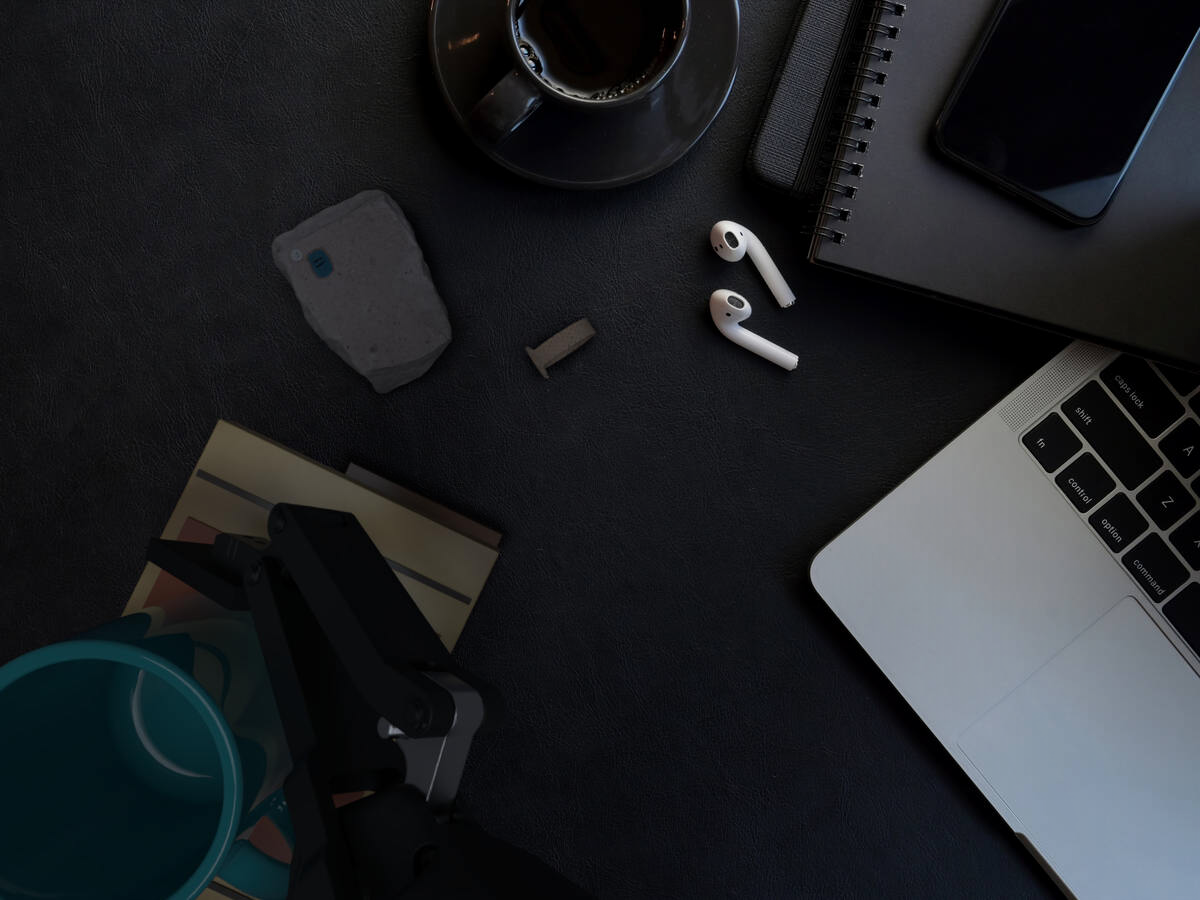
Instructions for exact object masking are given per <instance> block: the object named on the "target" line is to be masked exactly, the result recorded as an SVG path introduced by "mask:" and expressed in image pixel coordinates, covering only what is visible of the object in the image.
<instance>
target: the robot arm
mask: <svg viewBox="0 0 1200 900" xmlns="http://www.w3.org/2000/svg"><path fill="white" fill-rule="evenodd" d="M267 530H268V535H269V538H270V539H271V541H270V540H268V539H266V538H264V537H259V536H250V535H241V534H232V533H221V534H218V535H216V538H215V542H214V544H206V543H196V542H186V541H177V540H167V539H160V538H158V537H157V538H156V537H149V540H148V544H147V548H146V552H145V556H144V559H145V560H147V562H148V561H150V562H151V563H153V564H155V565H156V566H158V567H159V568H161V569H163V570H164V571H166V572H168V573H169V574H171V575H172V576H174V577H176V578H177V579H179V580H180V581H182V582H184V583H185V584H187V585H188V586H190V587H192V588H193V589H195V590H196V591H198V592H200V593H201V594H203V595H205V596H206V597H208V598H209V599H211V600H213V601H214V602H216V603H217V604H219V605H221V606H222V607H224V608H225V609H227V610H235V611H251V614H252V618H253V621H254V625H255V628H256V632H257V636H258V639H259V643H260V646H261V650H262V654H263V657H264V661H265V664H266V668H267V672H268V675H269V679H270V682H271V686H272V690H273V693H274V697H275V700H276V704H277V708H278V711H279V715H280V718H281V722H282V726H283V729H284V733H285V736H286V740H287V744H288V747H289V751H290V754H291V758H292V762H293V770H292V771H291V772H290V773H289V774H288V775H287V776H286V777H285V779H284V782H283V792H284V796H285V799H286V803H287V807H288V811H289V815H290V818H291V822H292V826H293V830H294V833H295V837H296V843H295V847H294V851H293V855H292V859H291V865H290V875H289V885H288V894H287V897H286V899H285V900H601V899H600V898H598V897H597V896H595V895H594V894H592V893H591V892H589V891H588V890H586V889H585V888H584V887H582V886H581V885H579V884H578V883H576V882H575V881H573V880H572V879H571V878H569V877H567V876H566V875H564V874H563V873H561V872H560V871H559V870H557V869H556V868H554V867H553V866H551V865H549V864H548V863H546V861H543V860H542V859H541V858H540V857H538V856H537V855H535V854H533V853H531V852H529V851H528V850H525V849H523V848H522V847H519V846H517V845H515V844H514V843H511V842H508V841H506V840H504V839H501V838H499V837H498V836H496V835H493V834H492V833H489V832H488V831H486V829H484V827H482V825H481V824H480V823H479V821H478V820H477V818H476V817H475V815H474V813H473V812H472V810H471V808H470V806H469V804H468V802H467V800H466V797H464V795H463V794H462V792H460V790H459V786H460V783H461V779H462V776H463V773H464V769H465V767H466V763H467V760H468V756H469V753H470V749H471V745H472V741H473V738H474V736H477V735H491V734H495V733H496V732H497V731H498V730H499V729H501V727H502V725H503V724H504V721H505V716H506V701H505V698H504V696H503V694H502V692H501V691H500V690H499V689H498V688H497V687H496V686H494V685H493V684H491V683H489V682H488V681H487V680H485V679H483V678H482V677H480V676H478V675H477V674H475V673H474V672H472V671H470V670H469V669H467V668H466V667H464V666H463V665H461V664H459V663H458V662H457V661H456V659H455V658H454V656H453V655H452V653H451V654H450V652H449V651H448V649H447V648H446V647H445V645H444V644H443V642H442V641H441V639H440V638H439V636H438V635H437V634H436V632H435V631H434V629H433V628H432V626H431V625H430V623H429V622H428V621H427V619H426V618H425V616H424V615H423V613H422V612H421V610H420V609H419V608H418V606H417V605H416V603H415V602H414V600H413V599H412V597H411V596H410V595H409V593H408V592H407V590H406V589H405V587H404V586H403V584H402V583H401V582H400V580H399V579H398V577H397V576H396V574H395V573H394V571H393V570H392V569H391V567H390V566H389V564H388V563H387V561H386V560H385V558H384V557H383V556H382V554H381V553H380V551H379V550H378V548H377V547H376V545H375V544H374V543H373V541H372V540H371V538H370V537H369V535H368V534H367V532H366V531H365V530H364V528H363V527H362V525H361V524H360V522H359V521H358V519H357V518H356V517H355V515H354V514H352V513H351V512H345V511H338V510H332V509H325V508H319V507H312V506H305V505H298V504H290V503H283V502H279V503H277V504H276V505H274V507H273V508H272V510H271V512H270V514H269V517H268V523H267ZM393 739H395V740H396V742H395V741H394V740H393ZM360 791H374V792H375V793H373V794H371V795H368V796H366V797H363V798H361V799H358V800H356V801H353V802H351V803H348V804H346V805H343V806H341V807H338V808H336V807H335V803H334V800H333V797H332V795H334V794H343V793H352V792H360Z"/></svg>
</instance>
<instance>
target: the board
mask: <svg viewBox="0 0 1200 900" xmlns="http://www.w3.org/2000/svg"><path fill="white" fill-rule="evenodd" d="M279 502H283V503H290V504H298V505H305V506H312V507H319V508H325V509H332V510H338V511H345V512H351V513H352V514H354V515H355V517H356V518H357V519H358V521H359V522H360V524H361V525H362V527H363V528H364V530H365V531H366V532H367V534H368V535H369V537H370V538H371V540H372V541H373V543H374V544H375V545H376V547H377V548H378V550H379V551H380V553H381V554H382V556H383V557H384V558H385V560H386V561H387V563H388V564H389V566H390V567H391V569H392V570H393V571H394V573H395V574H396V576H397V577H398V579H399V580H400V582H401V583H402V584H403V586H404V587H405V589H406V590H407V592H408V593H409V595H410V596H411V597H412V599H413V600H414V602H415V603H416V605H417V606H418V608H419V609H420V610H421V612H422V613H423V615H424V616H425V618H426V619H427V621H428V622H429V623H430V625H431V626H432V628H433V629H434V631H435V632H436V634H437V635H438V636H439V638H440V639H441V641H442V642H443V644H444V645H445V647H446V648H447V649H448V651H449V652H450V654H451V655H452V653H453V650H454V649H455V646H456V644H457V642H458V641H459V638H460V636H461V634H462V632H463V630H464V628H465V626H466V623H467V622H468V620H469V618H470V615H471V614H472V611H473V609H474V607H475V605H476V603H477V601H478V599H479V597H480V595H481V593H482V591H483V589H484V587H485V585H486V583H487V581H488V579H489V577H490V574H491V572H492V570H493V568H494V567H495V564H496V562H497V560H498V558H499V555H500V553H501V552H502V549H501V548H500V547H498V546H497V547H496V546H494V545H492V544H489V543H487V542H485V541H483V540H481V539H479V538H477V537H475V536H473V535H471V534H469V533H466V532H464V531H462V530H460V529H458V528H456V527H454V526H452V525H450V524H448V523H446V522H443V521H441V520H439V519H437V518H435V517H433V516H431V515H429V514H427V513H425V512H423V511H421V510H418V509H416V508H414V507H412V506H410V505H408V504H406V503H404V502H402V501H400V500H398V499H395V498H393V497H391V496H389V495H387V494H385V493H383V492H381V491H379V490H377V489H375V488H372V487H370V486H368V485H366V484H364V483H362V482H360V481H358V480H356V479H354V478H352V477H349V476H347V475H345V473H343V472H342V471H339V470H337V469H334V468H333V467H330V466H329V465H326V464H324V463H322V462H321V461H318V460H316V459H314V458H312V457H310V456H308V455H306V454H304V453H301V452H300V451H298V450H295V449H293V448H291V447H288V446H287V445H286V444H285V445H284V444H283V443H280V442H279V441H277V440H274V439H272V438H270V437H269V436H266V435H264V434H262V433H259V432H258V431H255V430H254V429H251V428H249V427H247V426H245V425H243V424H241V423H238V422H236V421H235V420H232V419H225V418H224V419H222V418H219V419H218V421H217V423H216V425H215V427H214V429H213V431H212V433H211V435H210V437H209V439H208V441H207V443H206V445H205V447H204V449H203V450H202V453H201V455H200V457H199V459H198V461H197V463H196V465H195V467H194V469H193V471H192V473H191V474H190V477H189V479H188V481H187V483H186V485H185V487H184V489H183V491H182V493H181V496H180V497H179V499H178V501H177V503H176V505H175V507H174V509H173V511H172V513H171V515H170V517H169V519H168V521H167V523H166V525H165V527H164V529H163V531H162V534H161V535H160V537H159V539H167V540H177V541H186V542H196V543H206V544H214V542H215V538H216V535H218V534H221V533H232V534H241V535H250V536H259V537H264V538H266V539H268V540H270V541H271V539H270V538H269V535H268V530H267V523H268V517H269V514H270V512H271V510H272V508H273V507H274V505H276V504H277V503H279ZM191 592H197V591H196V590H195V589H193V588H192V587H190V586H188V585H187V584H185V583H184V582H182V581H180V580H179V579H177V578H176V577H174V576H172V575H171V574H169V573H168V572H166V571H164V570H163V569H161V568H159V567H158V566H156V565H155V564H153V563H151V562H150V561H148V560H147V563H146V565H145V567H144V570H143V572H142V574H141V576H140V577H139V580H138V582H137V584H136V585H135V588H134V590H133V591H132V594H131V596H130V598H129V600H128V602H127V603H126V605H125V608H124V610H123V612H122V614H121V616H120V617H123V616H125V615H128V614H131V613H133V612H136V611H139V610H141V609H144V608H147V607H149V606H152V605H155V604H157V603H160V602H163V601H166V600H168V599H171V598H174V597H177V596H180V595H183V594H187V593H191ZM393 740H394V741H395V742H396V740H395V739H393ZM373 793H375V792H374V791H360V792H352V793H343V794H334V795H332V797H333V800H334V803H335V807H336V808H338V807H341V806H343V805H346V804H348V803H351V802H353V801H356V800H358V799H361V798H363V797H366V796H368V795H371V794H373ZM249 841H250V842H251V843H252V844H253V845H255V846H256V847H257V848H259V849H260V850H261V851H263V852H264V853H266V854H268V855H269V856H271V857H273V858H275V859H277V860H280V861H282V862H285V863H289V864H291V859H292V855H291V852H290V850H289V848H288V845H287V844H286V842H285V840H284V838H283V837H282V835H281V834H280V832H279V831H278V830H277V828H276V827H275V826H274V825H273V823H272V822H271V821H270V820H269V819H268V818H267V817H265V816H264V817H263V818H262V820H261V821H260V822H259V823H258V825H257V826H256V827H255V829H254V831H253V832H252V834H251V835H250V838H249ZM195 900H260V899H257V898H254V897H251V896H249V895H247V894H245V893H243V892H241V891H239V890H237V889H236V888H234V887H233V886H231V885H229V884H228V883H226V882H225V881H223V880H222V879H220V878H218V877H215V878H214V879H213V881H212V882H211V883H210V884H209V885H208V887H207V888H206V889H205V890H204V891H203V892H202V893H201V894H200V895H199V896H198V897H197V898H196V899H195Z"/></svg>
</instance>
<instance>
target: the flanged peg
mask: <svg viewBox="0 0 1200 900" xmlns="http://www.w3.org/2000/svg"><path fill="white" fill-rule="evenodd" d="M594 336H596V330H595V329H594V328H593V326H592V324H591V323H590V321H589V320H588V319H587V318H585V317H584V318H582V319H580V320H577V321H575V322H574V323H571V324H570V325H569V326H567V327H565V328H564V329H562V330H561V331H560V330H559V332H557V333H556V334H554V335H553V336H551V337H549V338H548V339H547V340H546V341H544V342H543V343H541V344H540V345H538V346H537V347H536V348H534V349H533V348H532V347H530V346H525V347H524V349H525V352H526V354H528V356H529V358H530V360H531V361H532V362H533V364H534V366H535V367H536V368H537V370H538V372H539V373H540V374H541V376H542V377H543V378H545V379H549V378H550V377H549V375H548V373H547V370H546V369H547V368H548V367H550V366H552V365H553V364H555V363H557V362H559V361H560V360H562V359H564V358H565V357H566V356H568V355H569V354H571V353H573V352H574V351H575V350H577V349H578V348H579V347H581V346H582V345H584V344H585V343H587V342H588V341H589V340H590V339H592V338H593V337H594Z"/></svg>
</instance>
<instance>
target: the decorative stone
mask: <svg viewBox="0 0 1200 900" xmlns="http://www.w3.org/2000/svg"><path fill="white" fill-rule="evenodd" d="M271 255H272V258H273V262H274V265H275V267H276V268H277V269H278V270H279V272H280V274H282V275H283V277H284V278H285V281H287V283H288V284H289V285H290V286H291V288H292V290H293V291H294V294H295V297H296V299H297V301H298V303H299V304H300V306H301V310H302V312H303V316H304V319H305V321H306V323H307V324H308V326H310V327H311V329H312V330H313V331H314V333H315V334H316V335H318V336H319V338H320V340H321V341H323V342H324V343H325V344H326V345H327V346H328V348H329V349H330V350H331V351H333V352H334V353H335V354H336V355H337V356H338V357H340V358H341V359H342V360H343V361H344V362H345V363H346V364H347V365H348V366H349V367H351V368H352V369H353V370H354V371H355V372H357V373H358V374H360V375H362V376H363V377H365V378H366V379H367V380H368V381H369V383H370V384H371V386H372V387H373V389H374V391H375V392H376V393H378V394H381V395H382V394H388V393H390V392H392V391H394V390H395V389H397V388H398V387H401V386H403V385H406V384H408V383H410V382H412V381H414V380H416V379H418V378H421V377H422V376H424V374H426V373H427V372H428V371H429V370H430V369H431V367H432V366H433V365H434V362H436V361H437V359H438V358H439V357H440V356H441V355H442V354H443V353H444V351H445V350H446V349H447V347H448V345H449V344H450V343H451V342H452V336H453V335H452V334H453V333H452V325H451V322H450V321H449V312H448V308H447V306H446V305H445V302H444V300H443V298H442V297H441V296H440V295H439V292H438V290H437V287H436V285H435V284H434V280H433V278H432V275H431V270H430V267H429V266H428V264H427V262H426V261H425V259H424V255H423V251H422V248H421V247H420V244H419V242H418V241H417V238H416V234H415V230H414V228H413V227H412V225H411V223H410V222H409V220H408V219H407V218H406V215H405V213H404V212H403V210H402V208H401V207H400V205H399V204H398V203H397V201H396V200H394V199H393V198H392V197H391V196H390V195H389V193H388V192H385V191H383V190H381V189H364V190H362V191H360V192H358V193H356V194H355V195H354V196H352V197H349V198H347V199H344V200H342V201H341V202H339V203H337V204H333V205H331V206H329V207H326V208H325V209H322V210H321V211H319V212H318V213H316V214H314V215H313V216H310V217H308V218H307V219H305V220H303V221H302V222H300V223H299V224H297V225H296V226H295V227H294V228H292V229H291V230H288V231H285V232H283V233H281V234H279V235H277V236H276V237H275V238H274V240H273V241H272V243H271Z"/></svg>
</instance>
